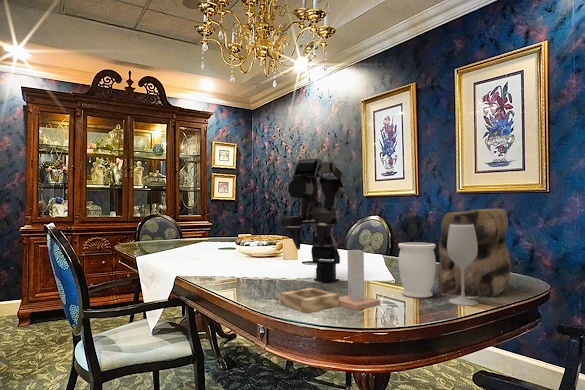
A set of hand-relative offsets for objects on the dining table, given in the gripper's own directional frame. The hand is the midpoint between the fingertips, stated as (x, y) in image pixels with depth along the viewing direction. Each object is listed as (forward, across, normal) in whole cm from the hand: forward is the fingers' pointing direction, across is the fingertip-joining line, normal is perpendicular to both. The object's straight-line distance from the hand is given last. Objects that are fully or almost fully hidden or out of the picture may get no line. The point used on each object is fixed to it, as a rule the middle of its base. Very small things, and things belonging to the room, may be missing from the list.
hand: (310, 248), depth 124 cm
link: (+12, -2, -21) cm, 24 cm away
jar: (+13, +20, -25) cm, 35 cm away
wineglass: (+13, +22, -38) cm, 46 cm away
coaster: (+13, -2, -21) cm, 25 cm away
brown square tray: (+13, -12, -14) cm, 23 cm away
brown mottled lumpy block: (+13, +39, -32) cm, 52 cm away
